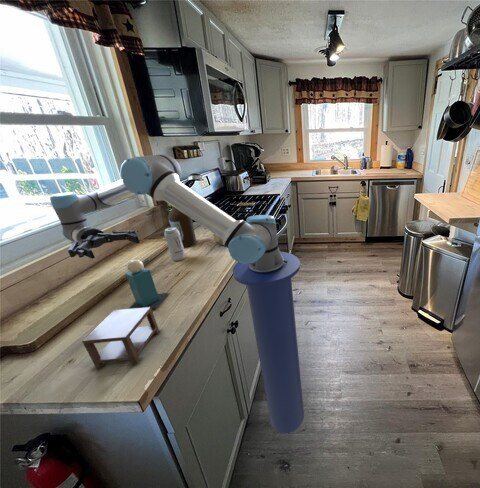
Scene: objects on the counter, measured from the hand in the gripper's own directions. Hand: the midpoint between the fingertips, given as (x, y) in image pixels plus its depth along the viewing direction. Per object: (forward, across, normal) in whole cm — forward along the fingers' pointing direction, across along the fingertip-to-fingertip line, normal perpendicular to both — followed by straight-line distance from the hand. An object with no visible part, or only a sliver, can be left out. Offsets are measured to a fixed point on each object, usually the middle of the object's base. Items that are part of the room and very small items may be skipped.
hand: (116, 246), depth 88 cm
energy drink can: (-15, -27, -20) cm, 36 cm away
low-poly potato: (-10, -51, -20) cm, 56 cm away
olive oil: (-28, -39, -20) cm, 52 cm away
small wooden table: (+27, +14, -20) cm, 37 cm away
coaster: (+10, 0, -20) cm, 22 cm away
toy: (+10, 0, -19) cm, 21 cm away
